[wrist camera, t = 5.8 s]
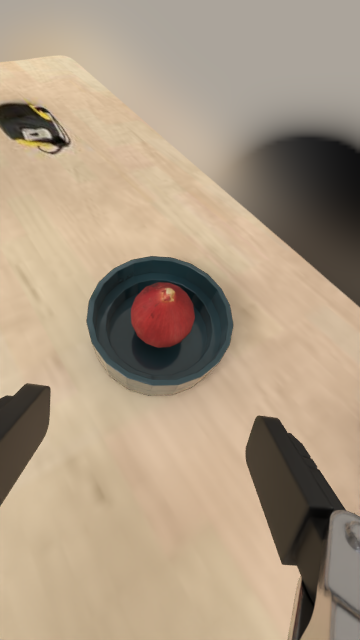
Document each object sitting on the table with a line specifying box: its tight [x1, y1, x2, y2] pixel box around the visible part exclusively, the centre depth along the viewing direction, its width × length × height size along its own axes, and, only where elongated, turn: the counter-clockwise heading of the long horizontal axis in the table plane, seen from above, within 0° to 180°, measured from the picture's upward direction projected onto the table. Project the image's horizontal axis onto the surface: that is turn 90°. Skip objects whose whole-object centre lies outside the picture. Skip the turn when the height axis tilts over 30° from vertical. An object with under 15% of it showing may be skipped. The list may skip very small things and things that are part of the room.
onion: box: [131, 282, 195, 348], centre depth 23 cm, size 6×6×8 cm
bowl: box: [87, 256, 233, 396], centre depth 24 cm, size 13×13×4 cm
